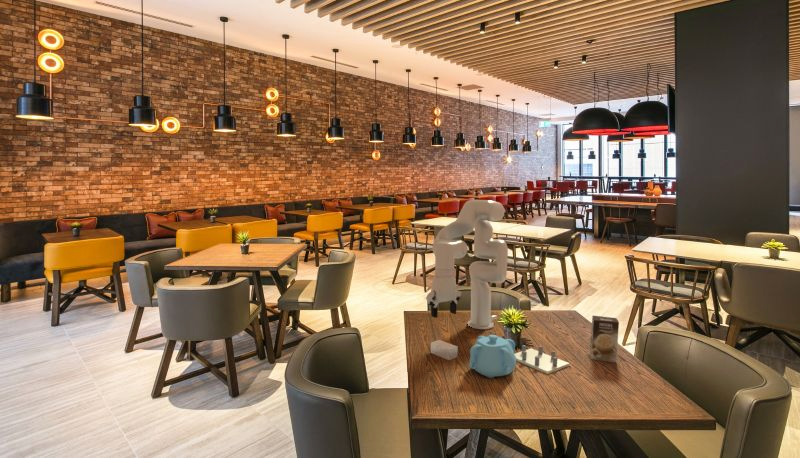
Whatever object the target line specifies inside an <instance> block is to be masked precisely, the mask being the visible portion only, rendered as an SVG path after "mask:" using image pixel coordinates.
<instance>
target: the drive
mask: <svg viewBox="0 0 800 458" xmlns="http://www.w3.org/2000/svg"><path fill="white" fill-rule="evenodd" d="M458 347H459V346H458V345H454V344H452V343H450V342H447V341H443V340H441V339H439V340H438V339H437V340H435V341H434V340H433V341H432V342H430V354H433V355H435V356H437V357H439V358H441V359H442V358H443V359H445V360H447V361H451V360H453V359H456V358H458V350H459V349H458Z"/></svg>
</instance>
